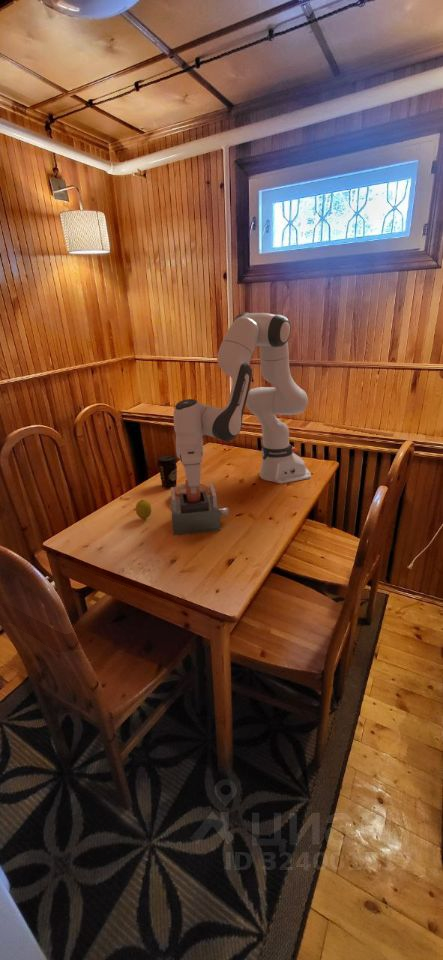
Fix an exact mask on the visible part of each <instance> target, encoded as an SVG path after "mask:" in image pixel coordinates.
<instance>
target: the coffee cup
mask: <svg viewBox="0 0 443 960" xmlns="http://www.w3.org/2000/svg"><path fill="white" fill-rule="evenodd" d="M156 464H157V466H158V470H159V474H160V481H161V487H162V488H163V489H166V490H168V489H170V490H171V487H174V488H175V487H177V486H178V485H177V481H178V480H177V478H178V477H177V476H178V466H177V464H178V459H177V458H176V457H175V455H173V454H172V455H169V454H166V455H162V456H159V457H158V460H157V462H156Z"/></svg>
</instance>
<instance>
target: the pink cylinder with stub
mask: <svg viewBox="0 0 443 960" xmlns="http://www.w3.org/2000/svg"><path fill="white" fill-rule="evenodd" d="M185 483H186V485H181V484H180V486H179V485H177V486H178V489H186V494H187V503H193V502H201V494H200V486H199V487H196V493H193V494H192V493H191V487H189V486H188V483H187V479H186V480H185Z"/></svg>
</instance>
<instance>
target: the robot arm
mask: <svg viewBox="0 0 443 960" xmlns="http://www.w3.org/2000/svg"><path fill="white" fill-rule="evenodd" d="M291 327H292V326H291V322H290V321H289V319H288V318H287V316H284V315H282V314H273V313H268V312H252V313H250V312H242V313H238V315H236V316H235V318H233V320H232V323H231V325H230V327H229V328H228V330H227V332H226V333H225V335H224V337H223V339H222V341H221V344H220V346H219V349H218V352H217V357H216V360H217V364H218V366H219V368H220V370H221V371H222V372H223V373H225V375H227V376H228V377H230V378H231V380H232V382H231V383H232V384H231V389H230V392H229V397H228V399H227V400H228V401H227V404H226V406H225V407H223V408H222V407H216V406H212V405H207V404H203V403H201V402H199V401H198V400H197V399H193V398H188V399H182V400H179V401H178V402H177V403H176V404H175V405H174V409H173V428H174V429H173V430H174V432H175V436H176V437H175V450H176V457H177V458H178V459H179V460H180V462H181V464H182V465H183V469H184V473H185V477H186V480H187V483H188V486H189V487H191V493H192V494H193V493H196V487H199V486H200V484H201V468H202V467H201V464H203V456H204V439H203V436H208V437H213V438H216V439H218V440H220V441H222V442H226V443H227V442H230V441H232V440H234V439H236V437H238V435H239V434H240V433H241V430H242V427H243V425H242V424H243V418H244V412H245V411H244V410H245V408H246V407H247V409H248V410H249V411H250V412H251V413H252V414H253V415H254V416H255V417H256V418H257V420H258V422H259V424H260V427H261V431H262V445H261V458H262V461H261V467H260V472H259V478H261V479H262V480H264V481H268V482H273V483H276V484H279V485H280V484H286V483H287V484H288V483H292V482H296V481H301V480H307V479H311V477H312V474H311V472H310V470H309V469H308V468H307V467H306V463H305V461H304V460H303V459H302V458H301V457H300V456H299V455H297V454H296V452H297V448H296V447H295V446H293V445H291V444H290V429H289V427H288V425H287V423H284V422H283V421H281V420H279V419H278V417H277V416H276V415H283V416H286V415H287V416H293V415H301V414H303V413H304V412H305V411H306V409H307V407H308V404H309V398H308V395H307V393H306V391H305V390H304V389H302V388H301V387H299V385H298V384H297V383H296V382H295V381H294V379H293V377H292V375H291V368H290V357H289V355H290V354H289V352H290V351H289V350H290V349H289V339H290V336H291V330H292V328H291ZM256 347H259V362H260V363H259V364H260V374H261V377H262V378H263V379H264V381H266V382H268V383H269V384H272V386H270V387H269V386H260V387H255V388H251V383H252V378H253V370H252V367H251V366H250V365H251V360H252V357H253V354H254V352H255V348H256ZM273 386H274V387H273Z"/></svg>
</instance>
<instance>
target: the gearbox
mask: <svg viewBox="0 0 443 960" xmlns="http://www.w3.org/2000/svg"><path fill="white" fill-rule="evenodd" d="M208 486H209V487H208V488H209V489H210V492H209V494H208V495H206V491H200V494H201V502H193V503H187V494H186V493H179V497H180V498H177V499H175V490H174V488H175V487H171V488H170V494H171V499H170V511H171V523H172V532H173V533H172V534H173V536H181V535H192V534H200V533H208V532H217V531H221V521H220V520H221V519H220V516H225V515H230V508H229V507H221V508H220V507H219V505H218V501H217V494H216V489H215V486H214V483H209V484H208Z"/></svg>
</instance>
